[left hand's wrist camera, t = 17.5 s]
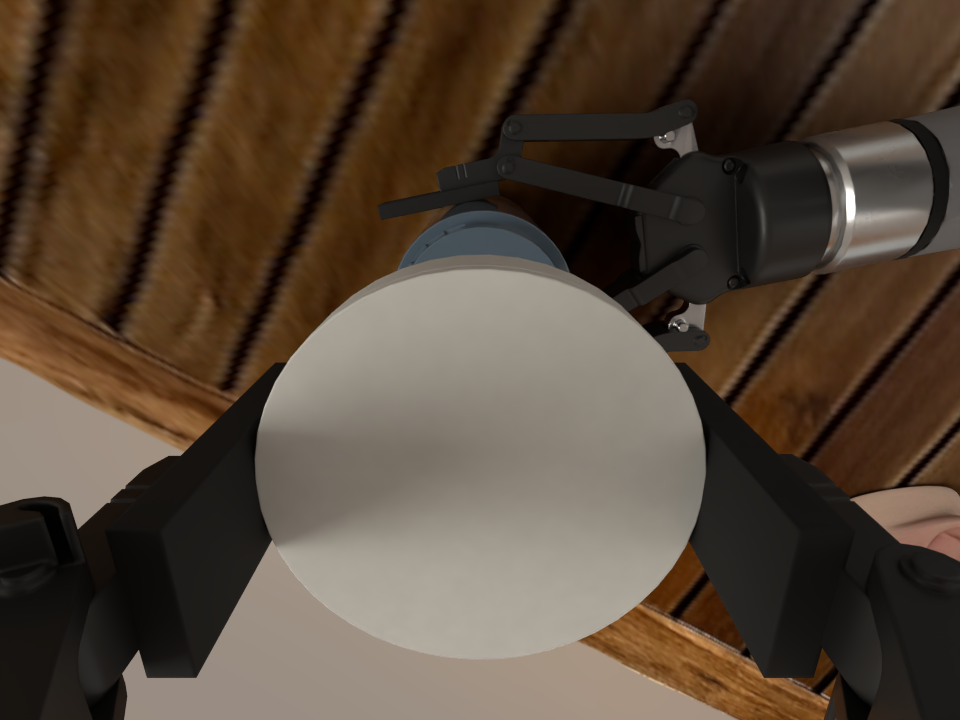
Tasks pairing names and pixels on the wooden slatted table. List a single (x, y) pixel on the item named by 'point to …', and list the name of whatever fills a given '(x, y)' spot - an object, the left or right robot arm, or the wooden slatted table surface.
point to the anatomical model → (918, 516)
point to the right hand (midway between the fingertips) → (403, 287)
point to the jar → (484, 234)
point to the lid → (480, 459)
